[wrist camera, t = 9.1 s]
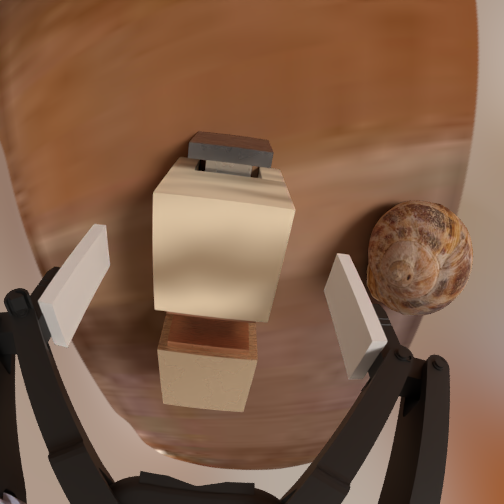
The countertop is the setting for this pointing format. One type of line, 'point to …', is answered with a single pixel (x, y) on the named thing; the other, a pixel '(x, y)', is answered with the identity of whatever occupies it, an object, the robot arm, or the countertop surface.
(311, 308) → the countertop surface
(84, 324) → the countertop surface
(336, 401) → the countertop surface
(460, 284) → the seashell
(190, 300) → the slotted tan cube
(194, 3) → the countertop surface
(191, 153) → the rail
